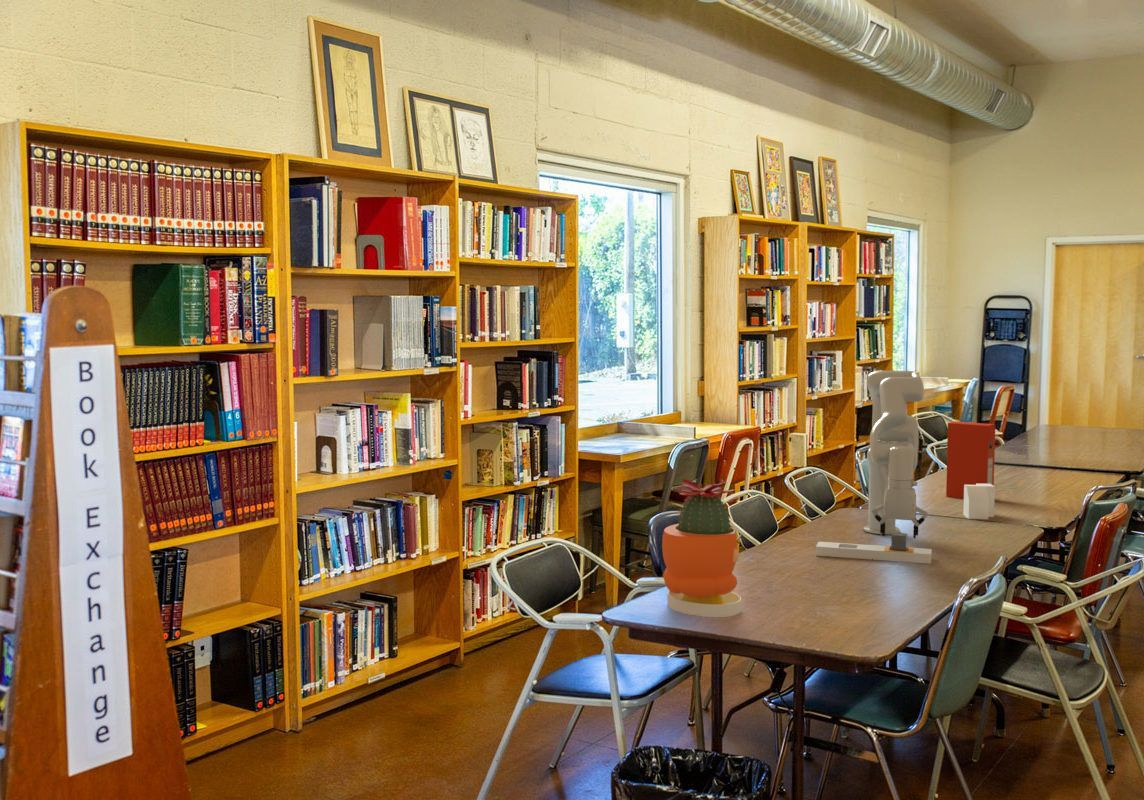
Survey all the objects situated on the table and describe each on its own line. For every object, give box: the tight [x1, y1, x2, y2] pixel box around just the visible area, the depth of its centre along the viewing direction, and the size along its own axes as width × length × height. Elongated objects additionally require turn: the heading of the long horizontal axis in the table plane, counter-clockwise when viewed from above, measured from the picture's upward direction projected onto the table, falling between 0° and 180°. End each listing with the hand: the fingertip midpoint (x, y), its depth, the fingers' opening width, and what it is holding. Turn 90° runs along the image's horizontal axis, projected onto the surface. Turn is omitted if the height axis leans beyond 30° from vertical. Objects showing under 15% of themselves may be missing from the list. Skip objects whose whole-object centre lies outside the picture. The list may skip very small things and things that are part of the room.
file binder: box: [945, 421, 996, 500], centre depth 463 cm, size 8×17×32 cm, turn 47°
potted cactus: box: [661, 479, 742, 618], centre depth 292 cm, size 22×22×35 cm
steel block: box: [890, 532, 908, 551], centre depth 352 cm, size 4×4×8 cm
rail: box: [815, 541, 933, 565], centre depth 355 cm, size 8×36×3 cm, turn 71°
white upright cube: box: [962, 483, 996, 520], centre depth 423 cm, size 11×11×12 cm
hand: (899, 536), depth 352 cm, fingers open, 9 cm apart
